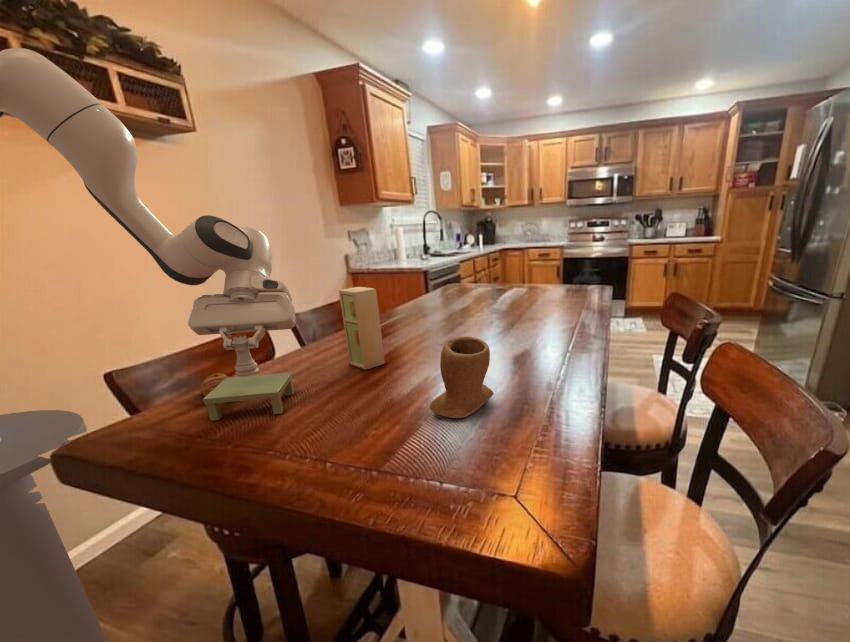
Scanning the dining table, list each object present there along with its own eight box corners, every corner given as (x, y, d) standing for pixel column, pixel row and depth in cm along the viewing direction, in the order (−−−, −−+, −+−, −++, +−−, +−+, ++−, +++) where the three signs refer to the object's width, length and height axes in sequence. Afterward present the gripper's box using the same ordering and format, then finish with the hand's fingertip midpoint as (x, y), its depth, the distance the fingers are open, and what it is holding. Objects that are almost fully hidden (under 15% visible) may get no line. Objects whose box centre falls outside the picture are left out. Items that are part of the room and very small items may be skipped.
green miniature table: (208, 421, 82) (202, 399, 80) (231, 397, 93) (226, 377, 91) (282, 414, 84) (278, 392, 83) (295, 391, 96) (292, 372, 94)
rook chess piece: (262, 368, 89) (254, 333, 86) (255, 375, 85) (247, 339, 82) (239, 370, 88) (231, 335, 85) (232, 377, 84) (223, 340, 81)
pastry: (235, 396, 94) (231, 381, 92) (201, 404, 90) (196, 388, 89) (233, 384, 101) (230, 370, 100) (201, 390, 98) (197, 376, 96)
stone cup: (471, 428, 76) (469, 353, 72) (422, 415, 82) (416, 344, 77) (508, 399, 89) (508, 333, 84) (462, 389, 94) (460, 327, 90)
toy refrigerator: (346, 365, 113) (335, 289, 106) (368, 358, 118) (360, 286, 111) (362, 371, 108) (352, 292, 101) (385, 364, 113) (377, 288, 106)
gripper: (187, 286, 85) (176, 344, 79) (291, 282, 89) (288, 336, 83) (202, 304, 91) (193, 358, 85) (299, 298, 94) (296, 351, 88)
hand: (241, 347), depth 84 cm, fingers closed on rook chess piece, 3 cm apart
